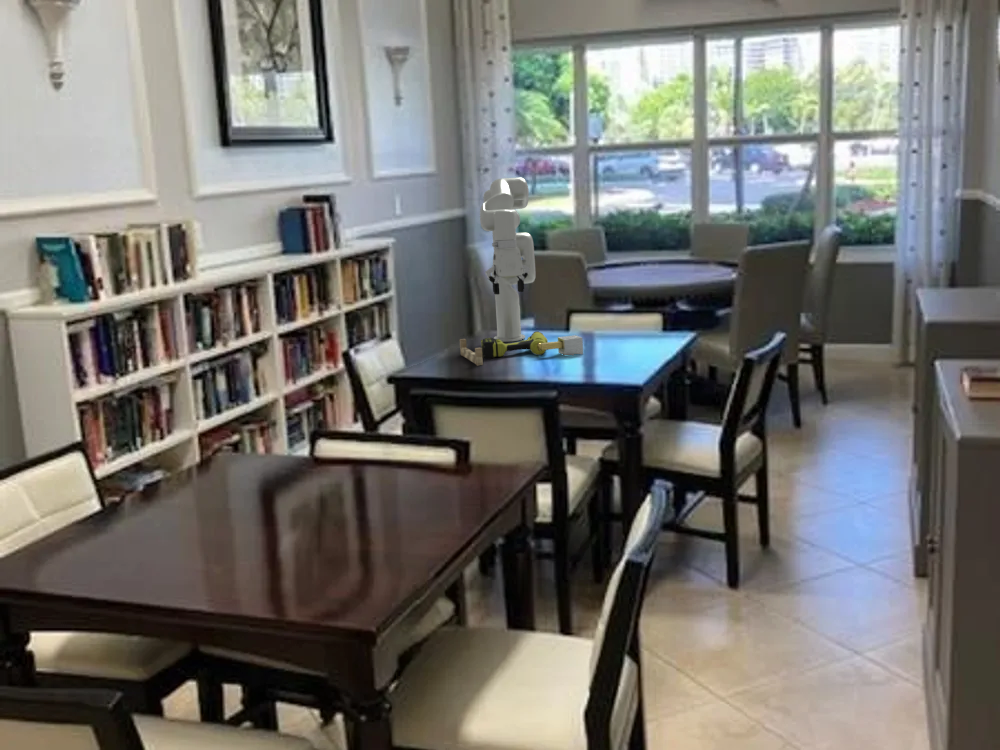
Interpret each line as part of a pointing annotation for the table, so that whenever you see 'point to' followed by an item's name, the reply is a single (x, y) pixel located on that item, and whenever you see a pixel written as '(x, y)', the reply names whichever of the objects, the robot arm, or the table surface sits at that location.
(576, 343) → the socket block
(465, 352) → the rail
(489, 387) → the table surface
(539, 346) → the brass capped square peg
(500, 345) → the cordless drill
